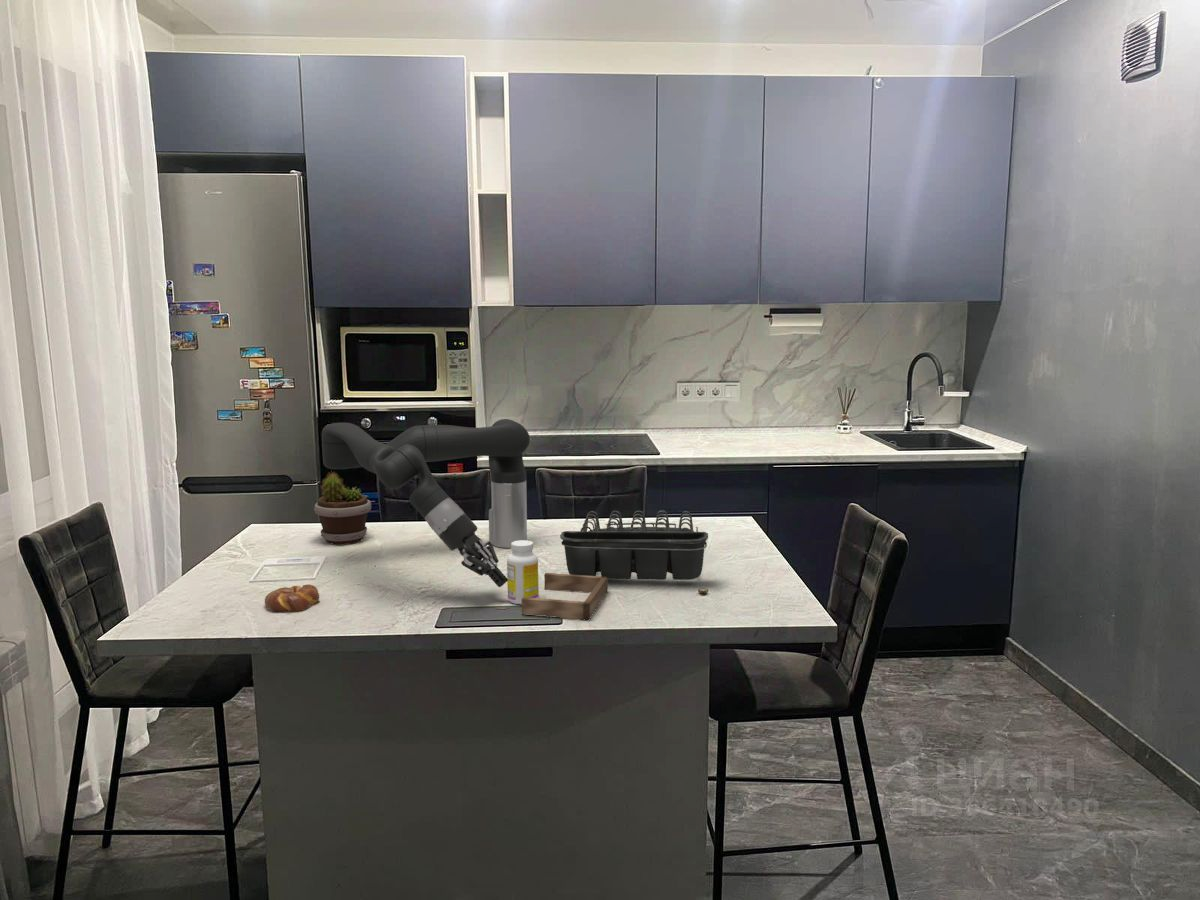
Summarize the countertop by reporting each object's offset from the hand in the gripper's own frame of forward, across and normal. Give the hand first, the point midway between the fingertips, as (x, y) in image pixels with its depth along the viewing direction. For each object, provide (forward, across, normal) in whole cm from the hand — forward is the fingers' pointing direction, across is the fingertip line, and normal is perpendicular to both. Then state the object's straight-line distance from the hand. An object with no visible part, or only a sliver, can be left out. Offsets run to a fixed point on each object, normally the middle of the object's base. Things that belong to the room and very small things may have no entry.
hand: (503, 583), depth 191 cm
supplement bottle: (+6, -2, 0) cm, 6 cm away
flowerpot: (-38, -37, -46) cm, 69 cm away
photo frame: (-36, -9, -45) cm, 59 cm away
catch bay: (+12, -2, +7) cm, 13 cm away
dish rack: (+18, -38, +13) cm, 44 cm away
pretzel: (-26, +12, -34) cm, 45 cm away
